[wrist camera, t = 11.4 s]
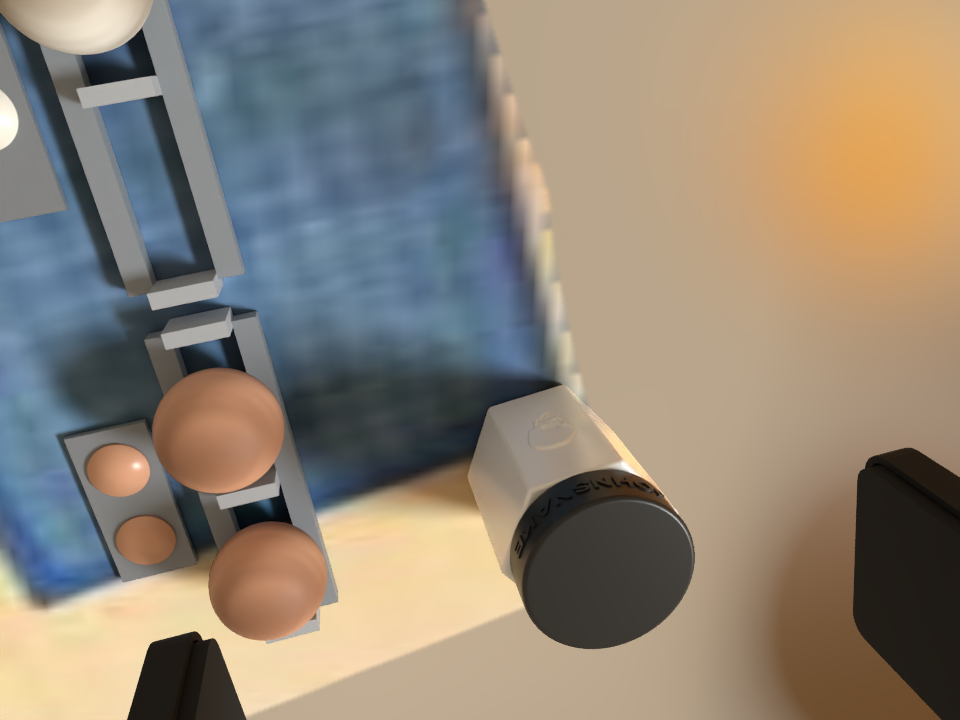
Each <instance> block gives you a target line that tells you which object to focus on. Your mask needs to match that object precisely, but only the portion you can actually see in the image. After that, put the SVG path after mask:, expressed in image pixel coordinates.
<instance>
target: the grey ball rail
mask: <svg viewBox="0 0 960 720" xmlns="http://www.w3.org/2000/svg"><path fill="white" fill-rule="evenodd" d="M142 29H143V32H144V36H145V39H146V42H147V45H148V49H149V52H150V55H151V59H152V62H153V65H154V69H155V72H156V75H157V76H148V77H142V78H136V79H130V80H125V81H119V82H113V83H107V84H101V85H95V86H91V83H90V80H89V77H88V74H87V71H86V68H85V65H84V62H83V59H82V56H81V55H76V54H70V53H64V52H60V51H57V50H54V49H50V48H48V47H46V46H43V45H41V44H40V47H41V50H42V53H43V55H44V58H45V61H46V64H47V67H48V70H49V72H50V75H51V78H52V81H53V84H54V87H55V89H56V92H57V95H58V98H59V101H60V104H61V106H62V109H63V112H64V115H65V118H66V121H67V123H68V126H69V129H70V132H71V135H72V138H73V140H74V143H75V146H76V149H77V152H78V155H79V157H80V160H81V163H82V166H83V169H84V172H85V174H86V177H87V180H88V183H89V186H90V189H91V191H92V194H93V197H94V200H95V203H96V206H97V208H98V211H99V214H100V217H101V220H102V223H103V225H104V228H105V231H106V234H107V237H108V240H109V242H110V245H111V248H112V251H113V254H114V257H115V259H116V262H117V265H118V268H119V271H120V274H121V276H122V279H123V282H124V285H125V288H126V291H127V293H128V296H129V297H133V296H138V295H143V294H147V297H148V300H149V302H150V305H151V308H152V310H157V309H162V308H167V307H172V306H177V305H181V304H186V303H191V302H196V301H201V300H206V299H210V298H215V297H218V295H219V293H220V291H221V288H222V286H223V284H224V283H223V280H222V278H226V277H231V276H236V275H241V274H244V271H245V267H244V263H243V260H242V256H241V253H240V249H239V246H238V242H237V239H236V235H235V232H234V228H233V225H232V221H231V218H230V214H229V211H228V208H227V204H226V201H225V197H224V194H223V190H222V187H221V183H220V180H219V176H218V173H217V169H216V166H215V162H214V159H213V155H212V152H211V148H210V145H209V141H208V138H207V134H206V131H205V127H204V124H203V121H202V117H201V114H200V110H199V107H198V103H197V100H196V96H195V93H194V89H193V86H192V82H191V79H190V75H189V72H188V68H187V65H186V61H185V58H184V54H183V51H182V47H181V44H180V41H179V37H178V34H177V30H176V27H175V23H174V20H173V16H172V13H171V9H170V6H169V2H168V0H153V3H152V6H151V10H150V13H149V15H148V17H147V19H146V21H145V23H144V24H143V26H142ZM159 95H163V98H164V102H165V105H166V108H167V111H168V115H169V118H170V121H171V125H172V128H173V131H174V135H175V138H176V141H177V144H178V148H179V151H180V154H181V158H182V161H183V164H184V168H185V171H186V174H187V177H188V181H189V184H190V187H191V191H192V194H193V197H194V201H195V204H196V207H197V210H198V214H199V217H200V220H201V224H202V227H203V230H204V234H205V237H206V240H207V244H208V247H209V250H210V253H211V257H212V260H213V263H214V267H215V269H212V270H208V271H203V272H198V273H193V274H188V275H183V276H178V277H173V278H168V279H163V280H158V281H157V280H156V277H155V274H154V271H153V268H152V265H151V262H150V259H149V256H148V253H147V250H146V247H145V244H144V241H143V238H142V235H141V232H140V229H139V226H138V223H137V220H136V218H135V215H134V212H133V209H132V206H131V203H130V200H129V197H128V194H127V191H126V188H125V185H124V182H123V179H122V176H121V173H120V170H119V167H118V164H117V161H116V158H115V155H114V152H113V149H112V146H111V143H110V140H109V137H108V134H107V131H106V128H105V125H104V122H103V119H102V116H101V113H100V110H99V107H98V106H102V105H108V104H113V103H119V102H125V101H131V100H136V99H142V98H148V97H154V96H159ZM232 329H234V333H235V336H236V339H237V343H238V346H239V349H240V352H241V356H242V359H243V362H244V366H245V369H246V372H247V373H248V374H250V375H252V376H254V377H255V378H257V379H258V380H260V381H261V382H262V383H263V384H265V385H266V386H267V387H268V388H269V389H270V390H271V392H272V393H273V395H274V396H275V397H276V399H277V401H278V403H279V405H280V408H281V411H282V414H283V419H284V439H283V443H282V447H281V450H280V452H279V455H278V457H277V458H276V460H275V462H274V463H273V465H272V466H271V467H270V469H269V470H268V471H267V472H266V473H265V474H264V475H263V476H262V477H261V478H259V479H258V480H257V481H255V482H254V483H252V484H250V485H249V486H246V487H244V488H242V489H239V490H236V491H232V492H227V493H206V492H200V491H197V492H198V495H199V497H200V500H201V503H202V506H203V509H204V512H205V514H206V517H207V520H208V523H209V526H210V529H211V531H212V534H213V537H214V540H215V543H216V546H217V548H218V551H219V550H220V549H221V547H222V546H223V545H224V544H225V543H226V542H227V541H228V540H229V539H230V538H231V537H232V536H233V535H234V534H236V533H237V532H239V531H240V528H239V525H238V522H237V519H236V516H235V513H234V510H233V507H234V506H238V505H243V504H247V503H251V502H255V501H259V500H263V499H268V498H272V497H276V496H279V487H280V484H281V488H282V491H283V494H284V498H285V501H286V504H287V508H288V511H289V514H290V517H291V521H292V524H293V526H296V527H298V528H300V529H301V530H303V531H304V532H306V533H307V534H308V535H309V536H310V537H312V538H313V540H314V541H315V542H316V543H317V545H318V546H319V548H320V550H321V551H322V554H323V556H324V559H325V562H326V567H327V586H326V591H325V595H324V598H323V600H322V603H321V605H320V606H324V605H328V604H332V603H336V602H338V590H337V587H336V583H335V580H334V576H333V573H332V569H331V566H330V562H329V559H328V555H327V552H326V548H325V545H324V541H323V538H322V535H321V531H320V528H319V524H318V521H317V517H316V514H315V510H314V507H313V503H312V500H311V496H310V493H309V489H308V486H307V482H306V479H305V475H304V472H303V468H302V465H301V461H300V458H299V454H298V451H297V448H296V444H295V441H294V437H293V434H292V430H291V427H290V423H289V420H288V416H287V413H286V409H285V406H284V402H283V399H282V395H281V392H280V388H279V385H278V381H277V378H276V374H275V371H274V368H273V364H272V361H271V357H270V354H269V350H268V347H267V343H266V340H265V336H264V333H263V329H262V326H261V322H260V319H259V315H258V312H257V311H253V312H248V313H243V314H239V315H234V316H233V313H232V310H231V307H225V308H220V309H215V310H211V311H206V312H201V313H196V314H191V315H187V316H182V317H177V318H172V319H169V321H168V323H167V324H166V326H165V328H164V329H163V331H158V332H153V333H148V335H147V336H146V338H145V339H144V342H145V344H146V347H147V350H148V353H149V356H150V359H151V361H152V364H153V367H154V370H155V373H156V376H157V378H158V381H159V384H160V387H161V390H162V393H163V395H164V396H165V394H166V393H167V392H168V390H169V389H170V388H171V387H172V386H173V385H175V384H176V383H177V382H179V381H180V380H181V379H183V378H184V377H186V376H188V373H187V370H186V367H185V364H184V361H183V358H182V355H181V352H180V349H179V347H183V346H188V345H192V344H197V343H202V342H206V341H211V340H216V339H221V338H225V337H230V335H231V332H232ZM318 630H320V607H319V608H318V610H317V612H316V613H315V614H314V616H313V617H312V618H311V619H310V620H309V621H308V622H307V623H306V624H305V625H304V626H303V627H302V628H300V629H299V630H297V631H296V632H294V633H292V634H290V635H288V636H286V637H283V638H279V639H275V640H267V641H266V644H269V643H273V642H276V641H280V640H284V639H288V638H292V637H295V636H299V635H303V634H307V633H311V632H314V631H318Z"/></svg>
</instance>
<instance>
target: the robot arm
mask: <svg viewBox="0 0 960 720" xmlns="http://www.w3.org/2000/svg"><path fill="white" fill-rule="evenodd" d="M853 616H854V620H855V623H856V626H857V628H858V630H859V632H860V633H861V635H862V636H863V637H864V639H865V640H866V641H867V642H868V643H869V644H870V645H871V646H872V647H873V648H874V649H875V650H876V651H877V653H878V654H879V655H880V656H881V657H882V658H883V659H884V660H885V661H886V662H887V663H888V664H889V665H890V666H891V667H892V668H893V669H894V670H895V671H896V672H897V673H898V674H899V675H900V677H901V678H902V679H903V680H904V681H905V682H906V683H907V684H908V685H909V686H910V687H911V688H912V689H913V690H914V691H915V692H916V693H917V694H918V696H919V697H920V698H921V699H922V700H923V701H924V702H925V703H926V704H927V705H928V706H929V707H930V708H931V709H932V710H933V711H934V712H935V713H936V714H937V715H938V716H939V717H940V718H941V720H960V477H958V476H957V475H955V474H953V473H952V472H950V471H949V470H947V469H946V468H944V467H943V466H941V465H939V464H938V463H936V462H935V461H933V460H931V459H930V458H928V457H927V456H925V455H924V454H922V453H920V452H919V451H917V450H915V449H913V448H904V449H899V450H895V451H891V452H887V453H884V454H880V455H876V456H873V457H871V458H869V459H868V461H867V463H866V466H865V469H863V470H861V471H860V473H859V474H858V480H857V509H856V539H855V569H854V598H853ZM127 720H246V717H245V715H244V712H243V709H242V707H241V704H240V701H239V699H238V696H237V693H236V691H235V688H234V685H233V682H232V680H231V677H230V674H229V672H228V669H227V666H226V664H225V661H224V658H223V656H222V653H221V650H220V648H219V645H218V643H217V641H216V640H215V639H213V638H212V639H208V640H204V641H203V640H202V638H201V636H200V634H199V633H198V632H195V631H194V632H190V633H186V634H182V635H178V636H174V637H171V638H167V639H163V640H159V641H155V642H153V643H151V644H150V646H149V648H148V650H147V653H146V657H145V660H144V664H143V667H142V671H141V674H140V678H139V681H138V684H137V688H136V691H135V695H134V698H133V702H132V705H131V708H130V712H129V715H128V719H127Z"/></svg>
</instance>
